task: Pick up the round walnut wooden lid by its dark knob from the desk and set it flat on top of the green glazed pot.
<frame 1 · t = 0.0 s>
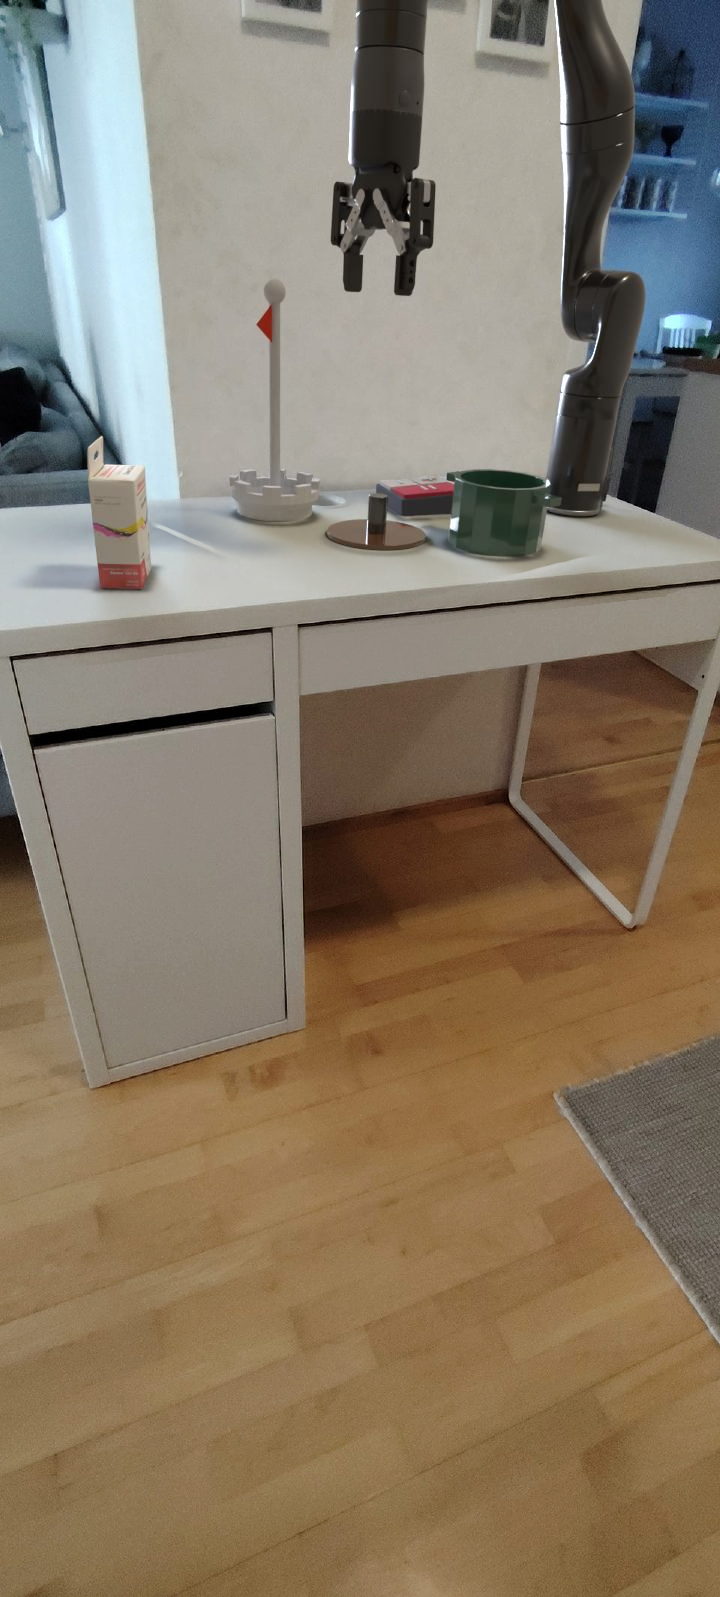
hand: (377, 293, 96), 29 cm above the table, tool pointing down, fingers open, 8 cm apart
lid: (376, 536, 116), point 1 cm above the table
grey red flat block: (431, 510, 133), on the table
flag stand: (274, 516, 125), on the table
ink cartridge box: (127, 579, 97), on the table
pot: (493, 547, 116), on the table
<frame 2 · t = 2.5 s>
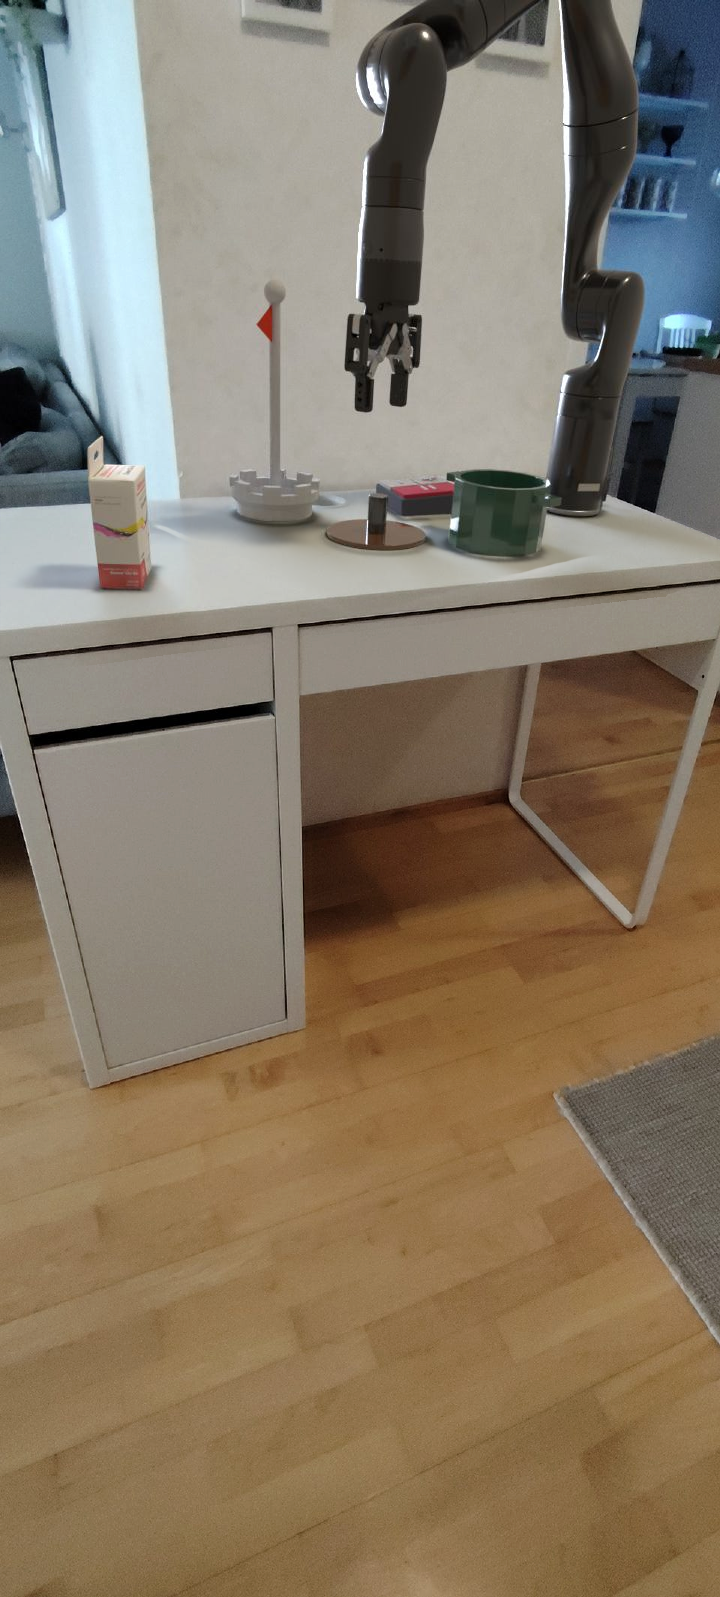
hand: (381, 408, 106), 17 cm above the table, tool pointing down, fingers open, 8 cm apart
nothing on the table moved.
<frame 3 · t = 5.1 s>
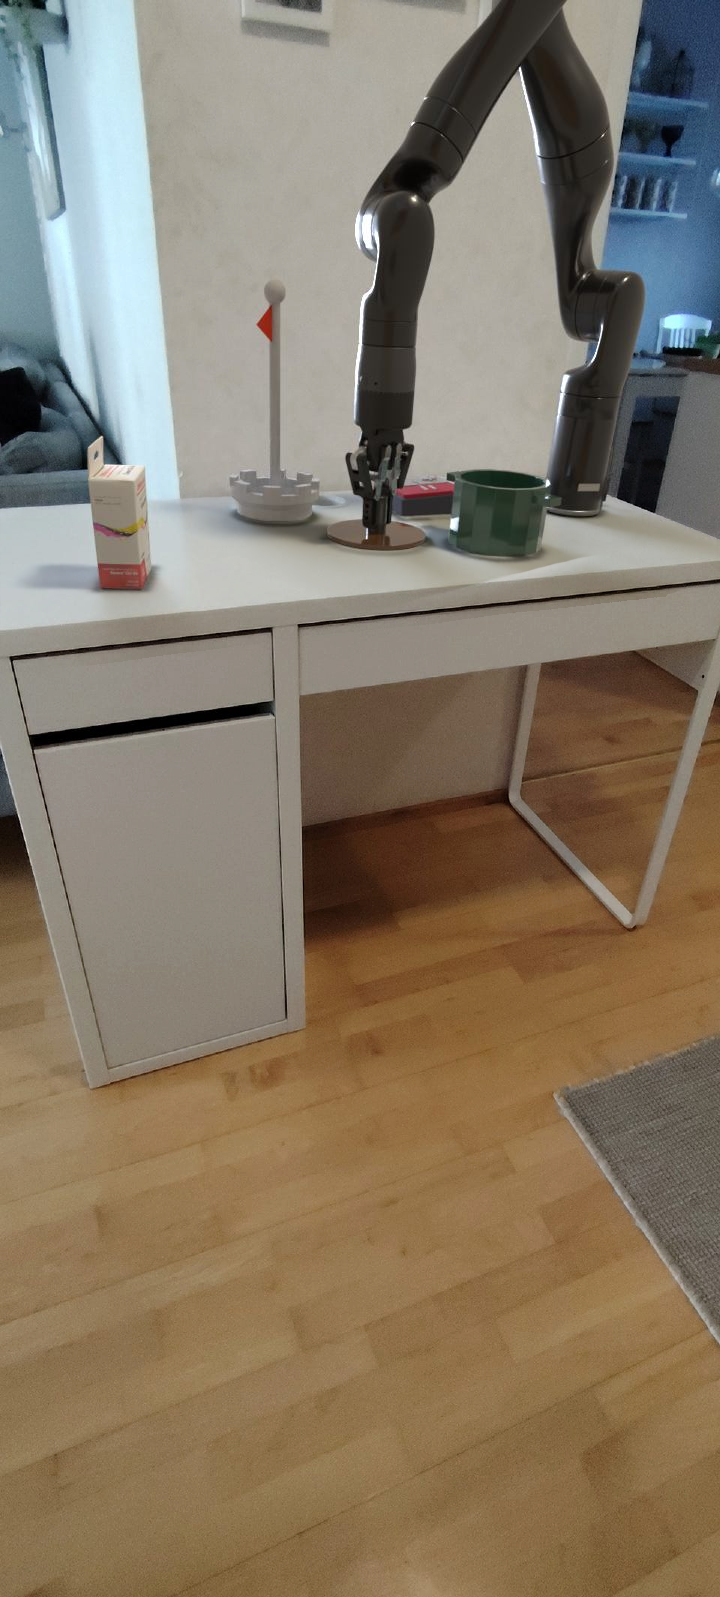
hand: (376, 524, 115), 2 cm above the table, tool pointing down, fingers closed on lid, 2 cm apart
lid: (376, 536, 116), point 1 cm above the table, touching gripper
everything else where it was.
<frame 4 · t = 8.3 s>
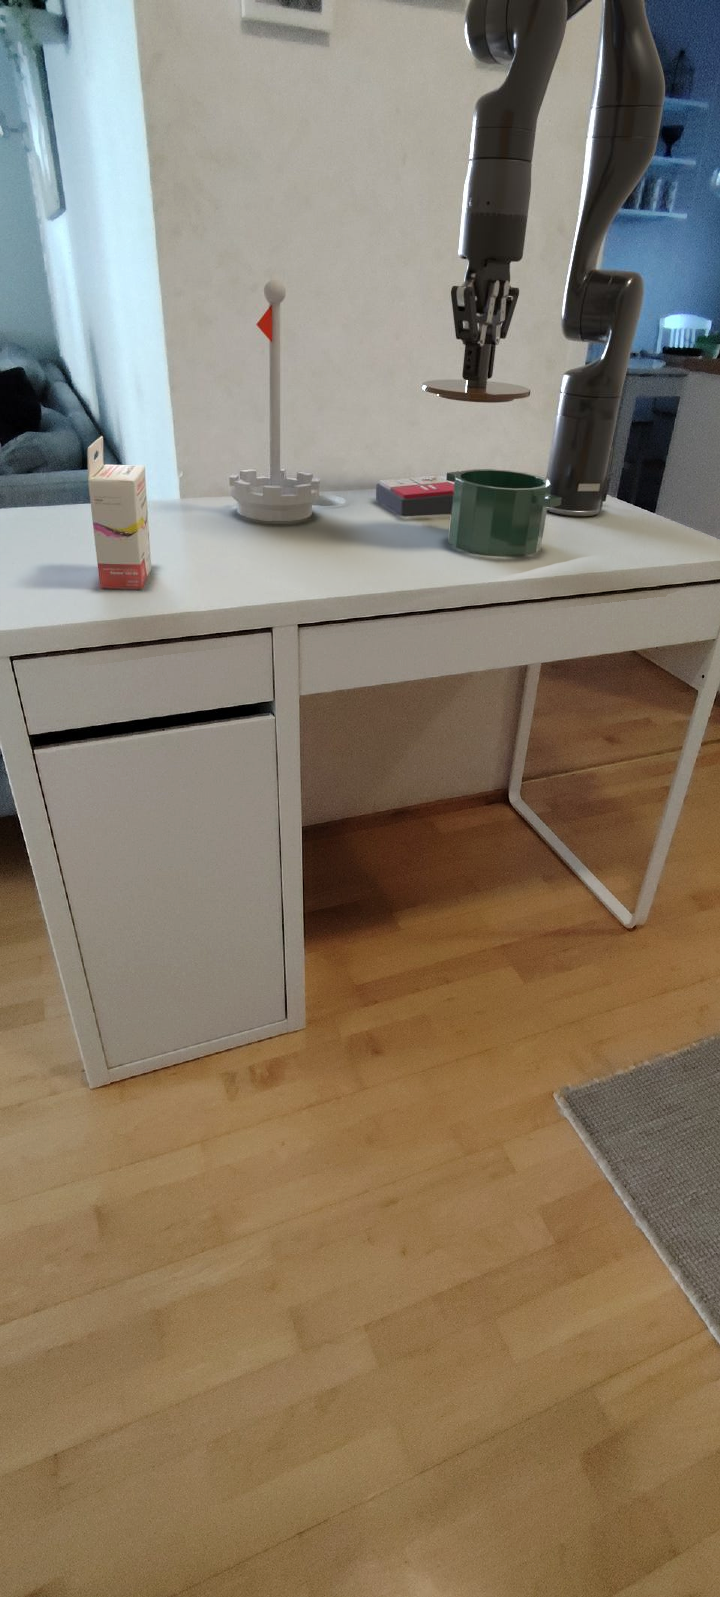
hand: (477, 378, 106), 21 cm above the table, tool pointing down, fingers closed on lid, 2 cm apart
lid: (475, 391, 106), point 19 cm above the table, touching gripper
everything else where it was.
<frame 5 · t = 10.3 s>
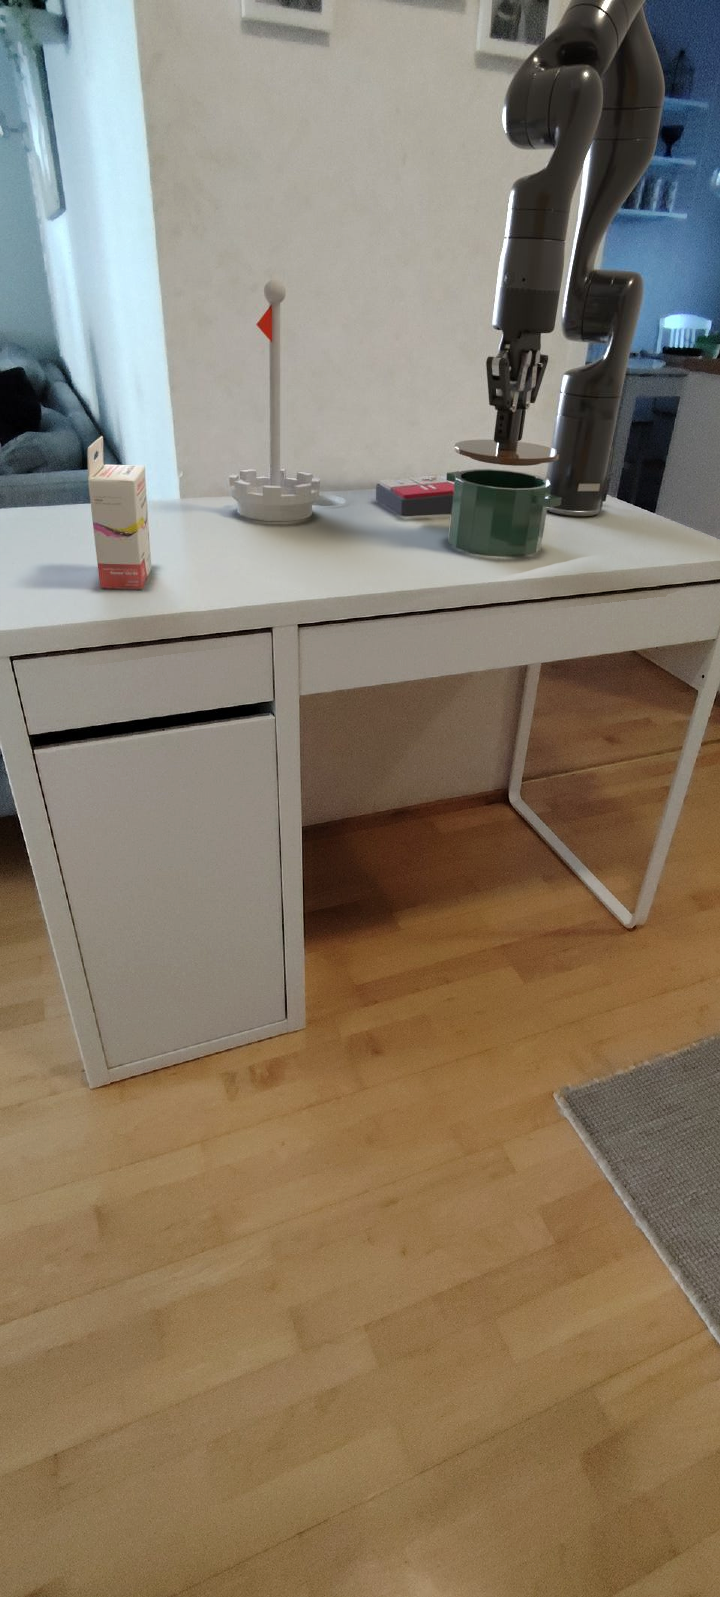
hand: (507, 441, 109), 14 cm above the table, tool pointing down, fingers closed on lid, 2 cm apart
lid: (506, 453, 110), point 12 cm above the table, touching gripper
everything else where it was.
when the fingers open (11 cm above the table, at t = 11.5 s): lid stays where it is, resting on pot.
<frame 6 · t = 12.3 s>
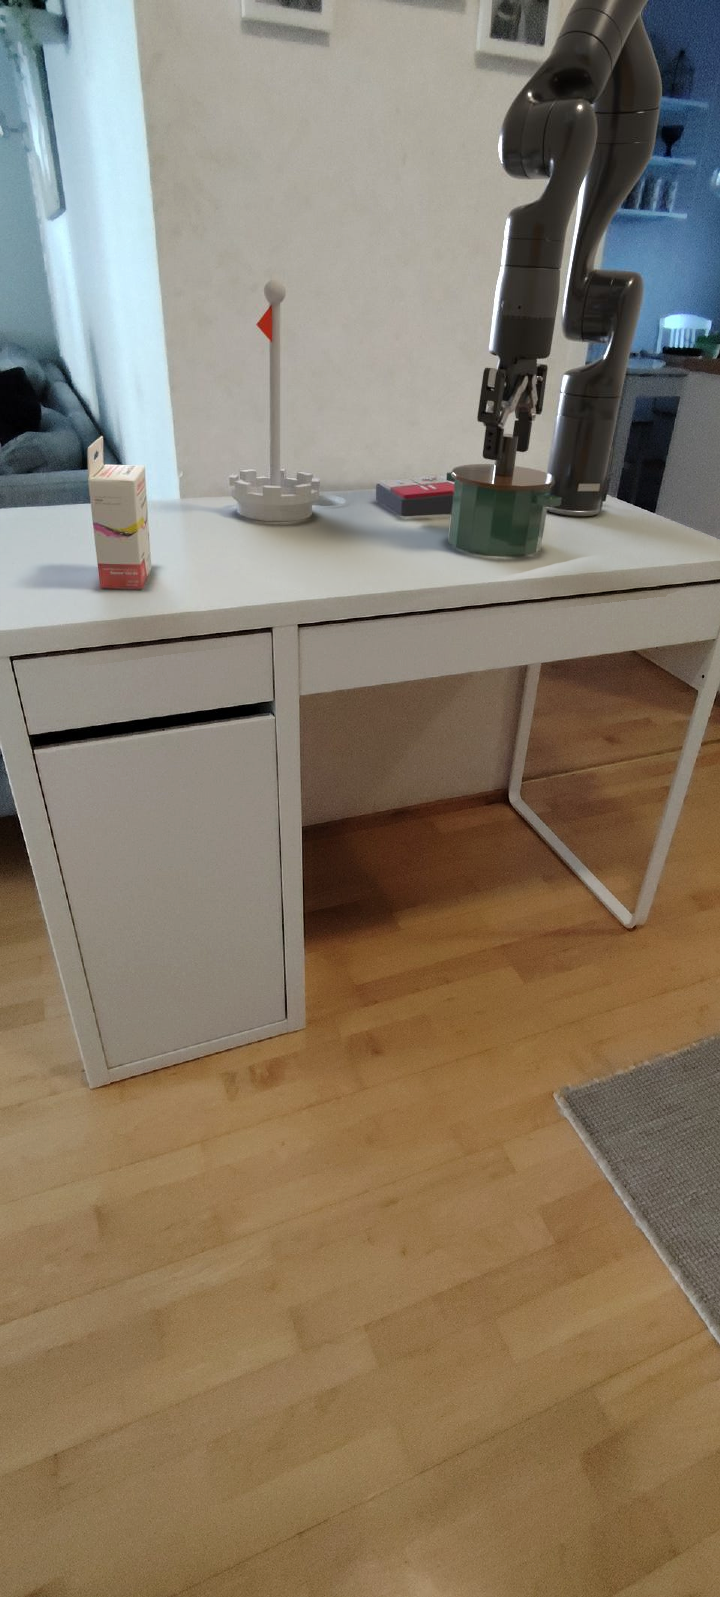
hand: (505, 455, 110), 12 cm above the table, tool pointing down, fingers open, 8 cm apart
lid: (502, 479, 111), point 9 cm above the table, touching pot
everything else where it was.
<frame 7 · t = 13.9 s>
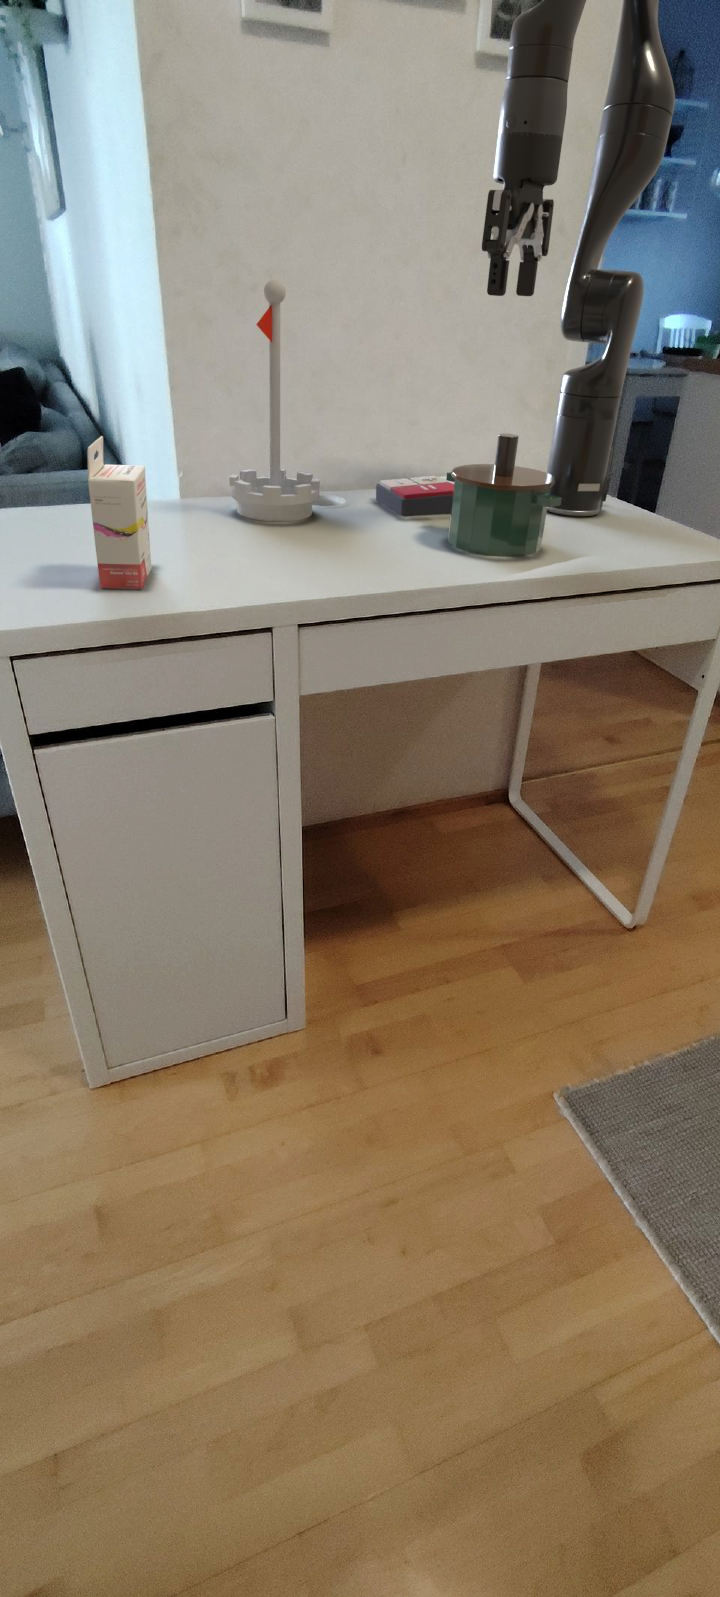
hand: (510, 295, 106), 30 cm above the table, tool pointing down, fingers open, 8 cm apart
nothing on the table moved.
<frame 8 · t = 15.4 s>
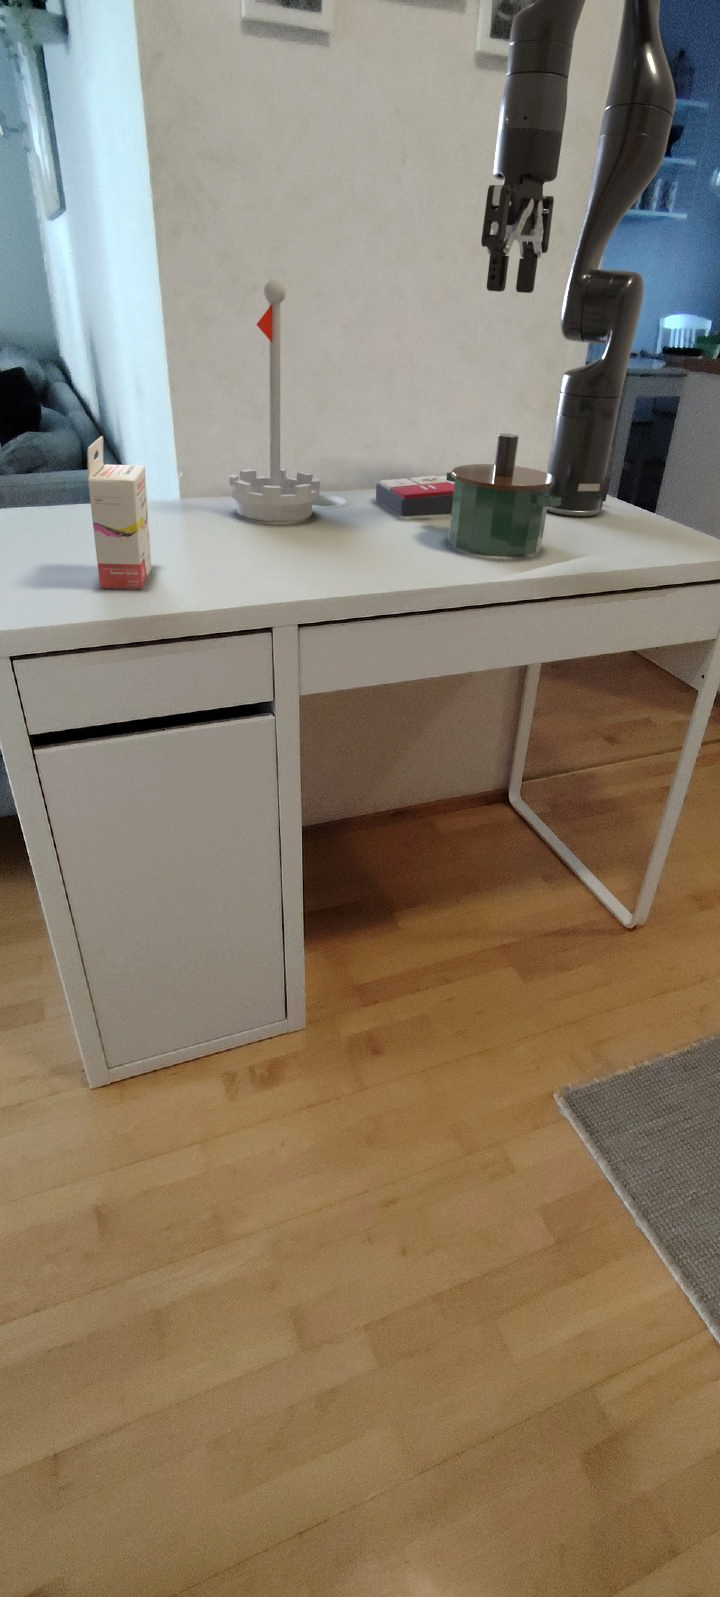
hand: (510, 292, 106), 30 cm above the table, tool pointing down, fingers open, 8 cm apart
nothing on the table moved.
at the end: lid 0.1 cm off-centre on the pot, point 9.0 cm above the pot's base; lid tilted 0°; the gripper is holding nothing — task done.
